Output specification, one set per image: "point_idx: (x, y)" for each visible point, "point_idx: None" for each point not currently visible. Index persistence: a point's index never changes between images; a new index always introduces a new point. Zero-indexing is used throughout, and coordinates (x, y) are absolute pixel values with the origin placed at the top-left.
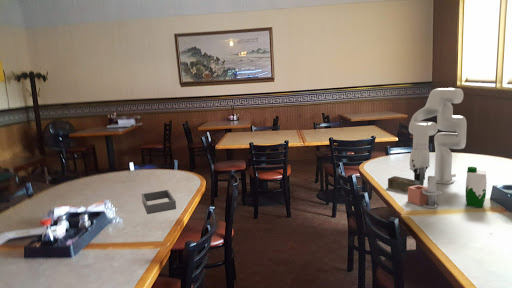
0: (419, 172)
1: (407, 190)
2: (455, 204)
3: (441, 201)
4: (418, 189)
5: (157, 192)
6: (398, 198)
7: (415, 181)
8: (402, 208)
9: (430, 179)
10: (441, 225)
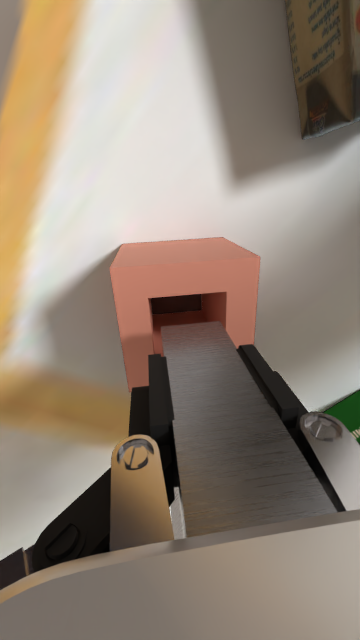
0: (180, 510)
1: (293, 33)
2: (298, 388)
3: (286, 334)
4: (146, 363)
5: None
6: (97, 160)
7: (163, 346)
8: (7, 336)
9: None
10: (59, 514)
